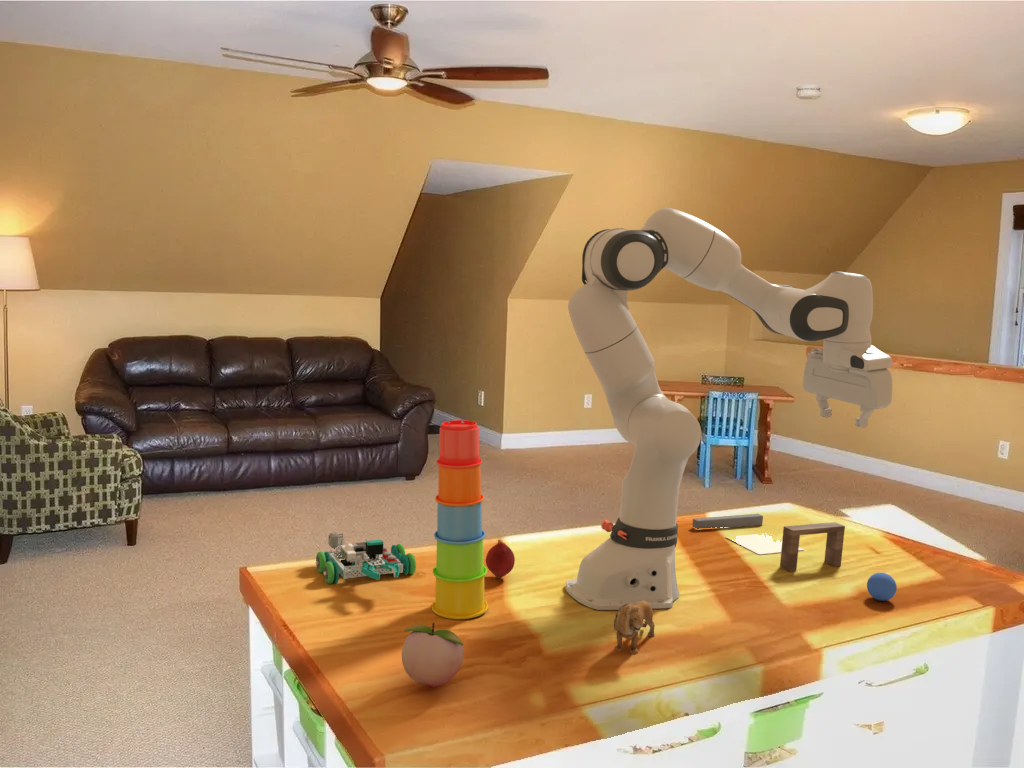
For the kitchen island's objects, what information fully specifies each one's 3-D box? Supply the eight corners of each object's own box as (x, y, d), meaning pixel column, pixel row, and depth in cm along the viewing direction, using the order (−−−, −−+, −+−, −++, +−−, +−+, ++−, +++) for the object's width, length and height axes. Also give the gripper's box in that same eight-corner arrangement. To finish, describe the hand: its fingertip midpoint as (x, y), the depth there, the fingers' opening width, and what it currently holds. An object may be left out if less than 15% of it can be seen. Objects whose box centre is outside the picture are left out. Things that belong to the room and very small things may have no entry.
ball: (880, 606, 170) (883, 579, 169) (859, 596, 175) (862, 569, 174) (901, 603, 172) (904, 576, 171) (880, 593, 177) (882, 567, 177)
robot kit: (343, 610, 155) (344, 560, 154) (309, 565, 177) (310, 521, 176) (439, 598, 164) (441, 550, 162) (396, 556, 186) (397, 513, 184)
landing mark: (759, 554, 198) (759, 554, 198) (724, 537, 210) (724, 536, 210) (804, 550, 203) (804, 549, 203) (767, 533, 215) (767, 533, 215)
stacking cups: (474, 624, 151) (484, 430, 147) (421, 613, 155) (429, 423, 150) (496, 604, 161) (505, 421, 156) (445, 594, 164) (453, 415, 160)
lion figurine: (639, 665, 139) (643, 612, 138) (607, 658, 141) (610, 605, 140) (657, 631, 153) (661, 582, 151) (628, 625, 154) (631, 577, 153)
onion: (515, 574, 177) (517, 536, 176) (512, 584, 172) (514, 545, 171) (486, 571, 178) (488, 534, 177) (483, 581, 172) (485, 542, 171)
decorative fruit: (391, 697, 125) (393, 631, 123) (407, 671, 133) (409, 609, 131) (454, 706, 123) (457, 639, 122) (467, 679, 131) (470, 616, 130)
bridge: (840, 565, 193) (845, 526, 192) (789, 571, 188) (793, 530, 186) (831, 561, 196) (835, 522, 195) (779, 566, 190) (783, 526, 189)
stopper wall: (696, 530, 214) (697, 520, 214) (692, 528, 216) (693, 518, 216) (762, 525, 222) (763, 515, 222) (757, 523, 224) (758, 513, 224)
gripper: (796, 348, 179) (794, 413, 182) (875, 363, 161) (871, 435, 164) (820, 345, 182) (817, 409, 185) (899, 360, 163) (895, 430, 166)
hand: (843, 421), depth 174 cm, fingers open, 8 cm apart
